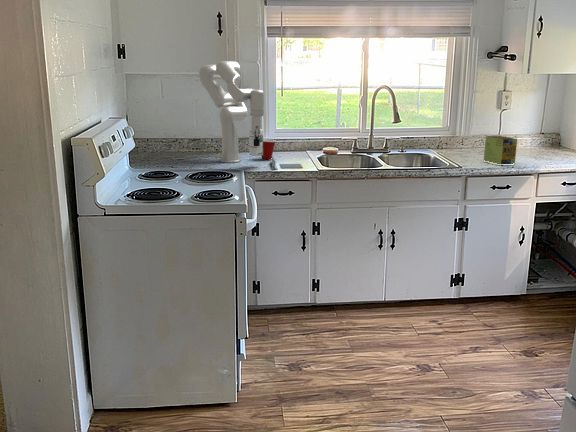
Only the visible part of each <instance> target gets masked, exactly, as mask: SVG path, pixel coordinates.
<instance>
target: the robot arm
mask: <svg viewBox="0 0 576 432" xmlns="http://www.w3.org/2000/svg"><path fill="white" fill-rule="evenodd" d="M240 73H241V66H240V64H239V62H237V61H235V60H222V61H218V62H217V63H215V64H214V63H213V64H212V63H211V64H204V65H202V66H201V67H200V68H199V71H198V75H199V81H200V82H201V84H202V87H204V89H205V90H206V91H207V93H208V94H209V96H210V97H209V98H211V100H212V102H213V103H214V105H215V106H216V108H217V109H220V111H219V119H220V124H221V126H220V127H221V151H222V152H221V153H219V154H217V153H215V154H214V158H215V159H219V162H221V163H228V164H229V163H230V164H231V163H233V162H234V163H239V162H242V159H241V157H239V155H240V154H239V129H238V127H237V125H236V124H238V123H239V124H240V123H244V122H246V121H248V119H249V116H250V117H251V122H250V123H251V127H250V128H251V129H250V130H252V131H251V132H252V134H253V133H254V146H260V139H259V134H260V133H261V129H262V117H264V113H265V111H264V110H265V109H264V107H265V92H264V90H261V89H256V88H239V87H238V84H240V82H241V79H242V78H241V77H242V76H241V75H240ZM216 80H223V81H224V82H225V83H226V85H227V91H225V90H224V89H223V87H222V86H221V84H220V83H219V82H218V81H216ZM245 103H249V110H248V109H247V106H246V104H245ZM258 131H259V132H260V133H258ZM255 132H256V133H255Z"/></svg>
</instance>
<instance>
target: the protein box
mask: <svg viewBox="0 0 576 432" xmlns="http://www.w3.org/2000/svg"><path fill="white" fill-rule="evenodd" d="M517 146H518V138H514V137H508V136H502V135H490V136H485V142H484V150H483V151H484V153H483V160H485V161H489V162H493V163H497V164H513V163H516V154H517Z"/></svg>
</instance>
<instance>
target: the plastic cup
mask: <svg viewBox="0 0 576 432" xmlns="http://www.w3.org/2000/svg"><path fill="white" fill-rule="evenodd" d="M276 142H277V140H275V139H272V138H263V155H261V159H262V160H263V159H271V158H272V155H273V153H274V149H275V145H276ZM271 160H272V159H271Z"/></svg>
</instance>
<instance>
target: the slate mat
mask: <svg viewBox="0 0 576 432" xmlns="http://www.w3.org/2000/svg"><path fill="white" fill-rule="evenodd" d="M279 166H280V169H304V167H303V166H302V164H301V163H279Z"/></svg>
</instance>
